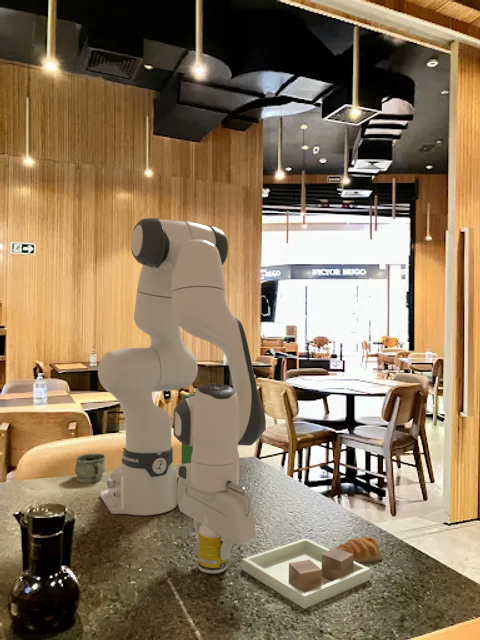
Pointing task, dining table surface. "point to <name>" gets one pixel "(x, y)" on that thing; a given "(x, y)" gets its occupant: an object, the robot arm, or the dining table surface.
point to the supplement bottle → (209, 550)
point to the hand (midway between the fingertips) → (213, 551)
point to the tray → (276, 561)
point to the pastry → (362, 549)
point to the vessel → (90, 467)
